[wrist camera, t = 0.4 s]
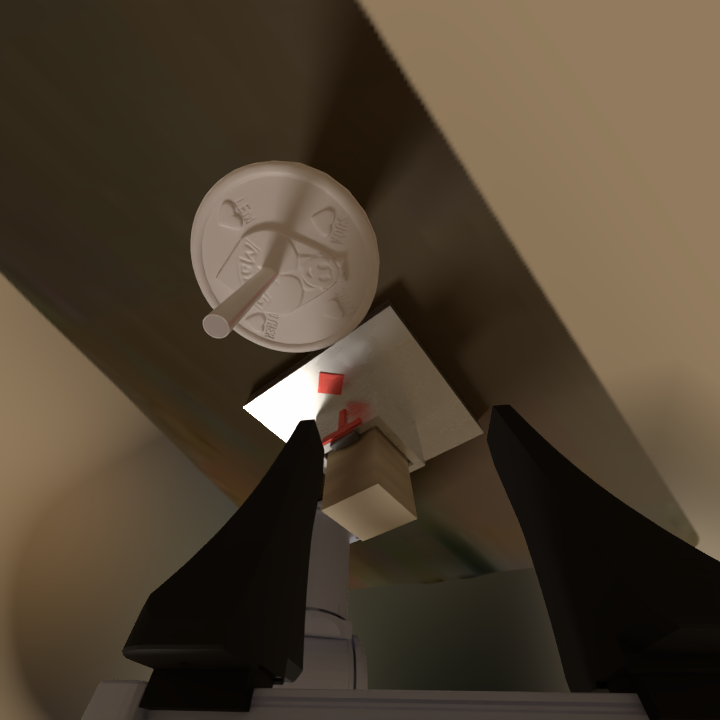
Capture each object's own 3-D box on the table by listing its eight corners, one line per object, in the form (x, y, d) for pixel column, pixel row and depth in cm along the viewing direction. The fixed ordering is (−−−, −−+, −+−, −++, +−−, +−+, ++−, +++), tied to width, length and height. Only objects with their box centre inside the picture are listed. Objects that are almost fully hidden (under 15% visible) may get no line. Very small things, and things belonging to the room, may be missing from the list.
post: (361, 447, 26) (362, 542, 19) (330, 417, 24) (318, 510, 17) (403, 425, 24) (419, 518, 17) (372, 392, 23) (378, 481, 16)
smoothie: (256, 175, 17) (-8, 152, 5) (369, 167, 17) (393, 121, 5) (278, 286, 20) (156, 440, 8) (373, 280, 20) (394, 430, 8)
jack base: (352, 482, 30) (350, 542, 25) (249, 395, 25) (220, 450, 20) (477, 420, 26) (506, 477, 21) (388, 298, 20) (397, 335, 15)
